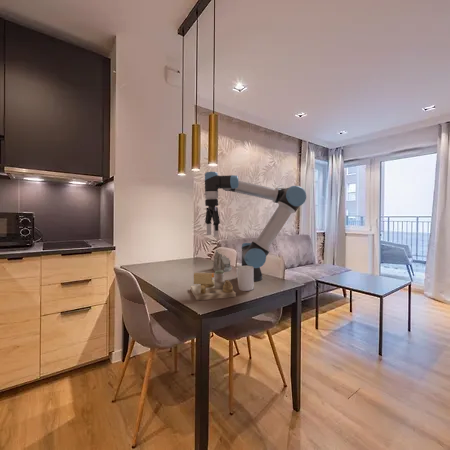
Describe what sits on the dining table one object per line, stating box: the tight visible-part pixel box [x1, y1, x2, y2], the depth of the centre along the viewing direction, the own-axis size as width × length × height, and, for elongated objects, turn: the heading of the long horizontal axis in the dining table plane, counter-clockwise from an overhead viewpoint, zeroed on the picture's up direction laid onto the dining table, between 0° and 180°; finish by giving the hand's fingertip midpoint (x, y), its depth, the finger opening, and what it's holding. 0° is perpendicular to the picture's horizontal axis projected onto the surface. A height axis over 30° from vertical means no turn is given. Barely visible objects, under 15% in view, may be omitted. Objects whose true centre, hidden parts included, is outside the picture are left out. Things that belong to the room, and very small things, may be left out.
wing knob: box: [193, 272, 215, 293], centre depth 127 cm, size 3×10×10 cm, turn 88°
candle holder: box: [235, 265, 255, 292], centre depth 141 cm, size 10×10×12 cm
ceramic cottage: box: [212, 249, 233, 273], centre depth 190 cm, size 16×16×15 cm
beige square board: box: [190, 270, 237, 301], centre depth 134 cm, size 20×18×11 cm
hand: (212, 235), depth 148 cm, fingers open, 13 cm apart
